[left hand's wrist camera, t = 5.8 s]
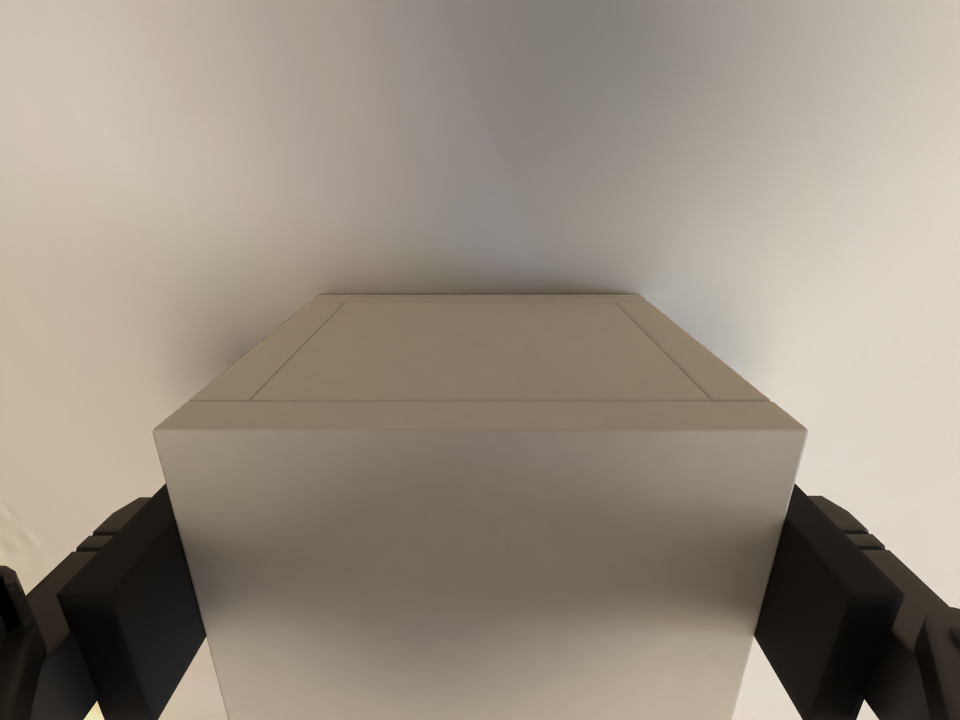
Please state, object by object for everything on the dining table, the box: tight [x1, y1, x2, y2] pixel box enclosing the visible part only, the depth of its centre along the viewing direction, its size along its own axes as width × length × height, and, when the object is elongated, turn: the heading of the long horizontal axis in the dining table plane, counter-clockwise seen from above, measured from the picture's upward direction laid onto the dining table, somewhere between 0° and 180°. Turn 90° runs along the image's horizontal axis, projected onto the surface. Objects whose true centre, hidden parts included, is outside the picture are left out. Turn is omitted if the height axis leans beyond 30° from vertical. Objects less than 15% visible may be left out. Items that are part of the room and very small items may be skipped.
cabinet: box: [153, 294, 808, 720], centre depth 15 cm, size 18×10×9 cm, turn 0°
